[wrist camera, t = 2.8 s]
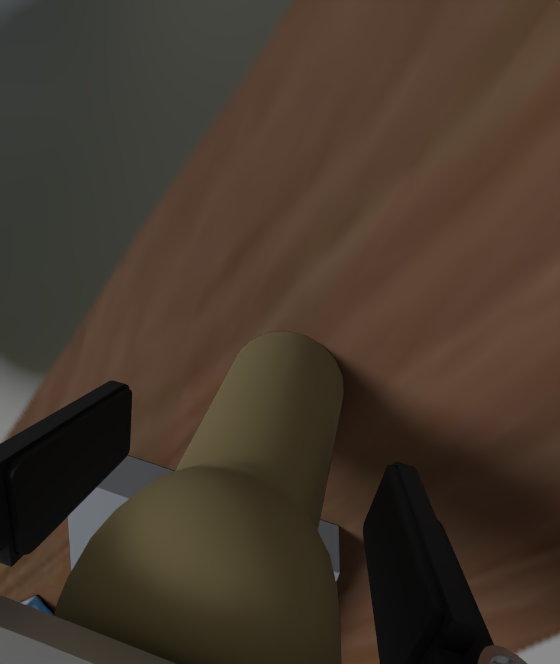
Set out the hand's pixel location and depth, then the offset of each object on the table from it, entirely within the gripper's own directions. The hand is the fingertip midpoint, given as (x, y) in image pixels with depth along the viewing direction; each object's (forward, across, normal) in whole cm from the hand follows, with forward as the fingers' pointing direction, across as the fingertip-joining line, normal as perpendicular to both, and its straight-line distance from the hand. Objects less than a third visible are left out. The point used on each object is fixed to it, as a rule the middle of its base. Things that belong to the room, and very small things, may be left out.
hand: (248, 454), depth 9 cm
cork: (+5, 0, 0) cm, 5 cm away
